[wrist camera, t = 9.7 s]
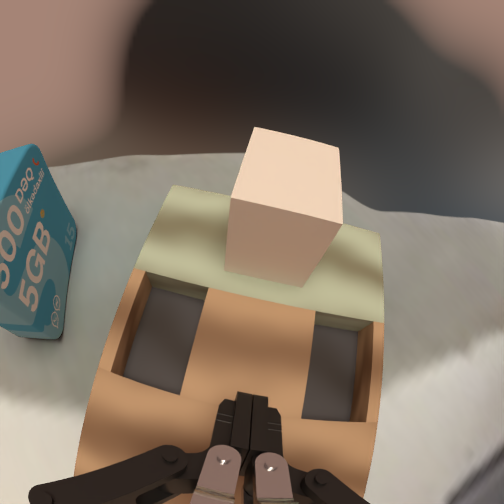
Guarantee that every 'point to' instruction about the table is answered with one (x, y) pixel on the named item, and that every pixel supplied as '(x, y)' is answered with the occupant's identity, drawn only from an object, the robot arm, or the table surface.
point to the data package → (33, 246)
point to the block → (283, 208)
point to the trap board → (240, 348)
